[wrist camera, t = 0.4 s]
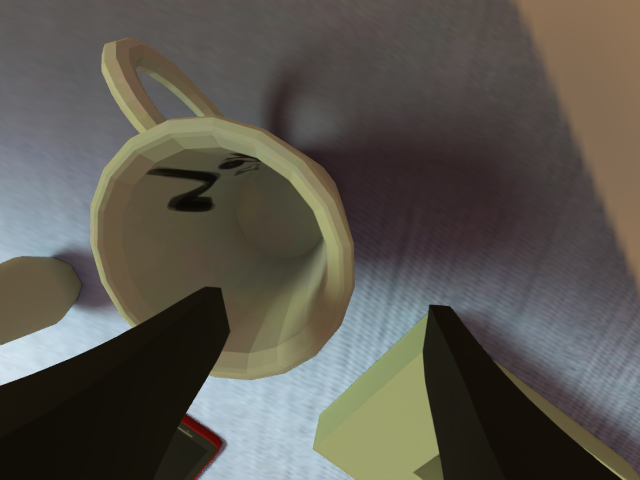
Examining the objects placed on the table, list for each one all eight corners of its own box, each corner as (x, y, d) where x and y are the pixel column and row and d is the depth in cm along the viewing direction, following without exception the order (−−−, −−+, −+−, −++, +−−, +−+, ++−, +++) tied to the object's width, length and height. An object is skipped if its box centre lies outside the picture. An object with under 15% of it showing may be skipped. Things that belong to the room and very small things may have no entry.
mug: (264, 302, 23) (189, 411, 14) (146, 118, 20) (-49, 99, 11) (393, 242, 20) (408, 331, 11) (274, 17, 17) (156, -126, 8)
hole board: (487, 535, 27) (500, 582, 24) (319, 415, 26) (312, 449, 23) (626, 460, 22) (663, 507, 19) (429, 311, 21) (438, 337, 18)
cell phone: (106, 470, 34) (98, 479, 33) (158, 391, 29) (151, 399, 28) (165, 509, 34) (159, 519, 33) (227, 438, 29) (222, 447, 28)
